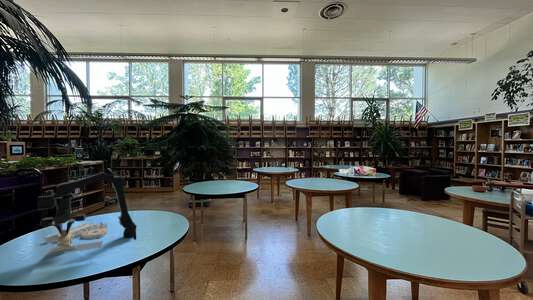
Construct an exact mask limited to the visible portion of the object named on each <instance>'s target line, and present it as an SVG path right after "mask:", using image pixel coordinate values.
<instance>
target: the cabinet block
mask: <svg viewBox="0 0 533 300" xmlns="http://www.w3.org/2000/svg"><path fill="white" fill-rule="evenodd" d="M66 231H67V228H65V229H63V230H62V232H61V235H60V236H59V237H58V238H57V240H56V247H57V248H62V247H68V246H70V245H72V244H73V240H72V234H68V235H67V234H66Z"/></svg>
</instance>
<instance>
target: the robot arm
mask: <svg viewBox="0 0 533 300" xmlns="http://www.w3.org/2000/svg"><path fill="white" fill-rule="evenodd" d="M101 180H103V181H105V182H108V183H110V184H112V187H113V189H114V191H115V194H116V198H117V199H116V200H117V203H118V207H119V211H120V216H117V218H118V223H119V225H120V226H122V227H123V228H124V231H123V233H122V234H123V236H122V237H123V239H126V238H128V239H129V238H133V240H136V239H137V224H135V222H134V221H133V219H132V217H131V216H130V213H129V210H128V206H127V202H126V198H125V197H126V196H125V192H124V188H125V187H124V185H125V184H124V178H122V177H121V176H119V175H116V176H113V175H111V174H108V173H106V172H104V171H103V172H102V171H101V172H98V173H95V174H93V175H90V176H87V177H84V178H81V179H78V180H73V181H67V182H61V183H59V184H58V185H57V186H56V188H55V191H54V192H53V193H52V195H44V196H43V195H41V196H38V197H37V204H36V205H37V207H36V208H37V210H38V211H40V210H41V211H42V210H49V209H53V208H54V207H56V210H55V211H56V213H55V215H54V217H53V216H52V217H44V218H42V219H41V220H40V222H39V226H40V227H42V226H49V224H51V226H52V227H55V228H56V229H57V231H58V232H59V233H60V235H61V232H62V230H64V229H63V225H64V224H66V229H67V231H66V234H67V235H68V233H69V230H70V228H72V225H73V224H74V223H75V222H84V221H86V219H87V214H86V213H78V214H76V215H75V216H72V212H71V209H72V208H71V198H75V195H74V194H73V193H72V192H73V191H74V190H77V189H79V188H81V187H84V186H87V185H90V184H93V183H96V182H98V181H101Z"/></svg>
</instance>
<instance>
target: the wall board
mask: <svg viewBox="0 0 533 300" xmlns="http://www.w3.org/2000/svg"><path fill="white" fill-rule="evenodd" d="M103 243H104V240H100V241H93V242H88V243H81V244H70V246H68V247H62V248H57V246H55V247H52V248H51V249H49V251H48V252H47V253H45V255H44V257H50V256H55V255H62V254H68V253H75V252H79V251H80V252H81V251H86V250H92V249H98V248H101V247H102V245H103Z"/></svg>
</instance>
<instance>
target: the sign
mask: <svg viewBox="0 0 533 300" xmlns="http://www.w3.org/2000/svg"><path fill="white" fill-rule="evenodd" d="M68 234H72V241H73V240H74V239H76V238H79V237H81V238H82V239H85V240H88V239H89V240H91V239H92V240H93V239H97V238H98V239H101V238H104V237H105V236H107V234H108V222H105V223H104V222H99V223H97V224H96V223H93V224H91V222H89V221H88V222H87V221H86V222H84V223H81V224H78V225H75V226H73V227H72V226H71V228H70V230H69V233H68ZM59 236H60V233H59V231H58V232H55V233H52V234H49V235H46V236H45V237H44V243H45V244H50V243H52V242H55V241H56V242H57V238H58V237H59Z"/></svg>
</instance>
